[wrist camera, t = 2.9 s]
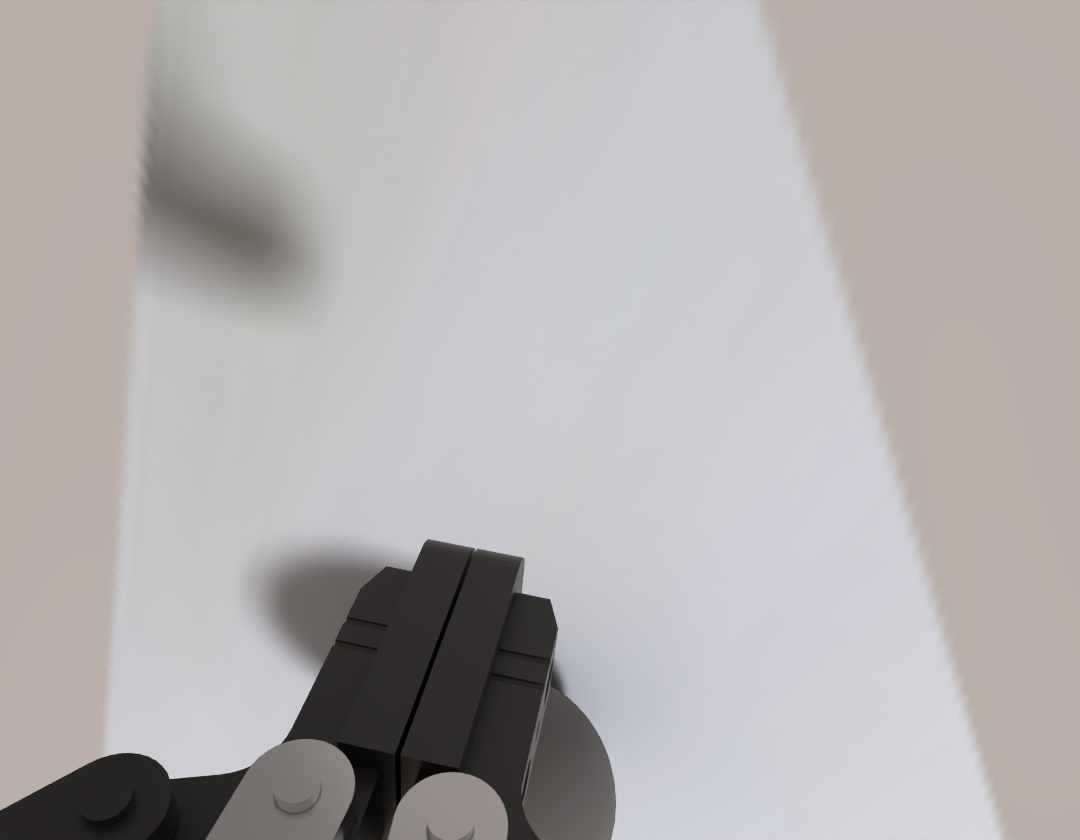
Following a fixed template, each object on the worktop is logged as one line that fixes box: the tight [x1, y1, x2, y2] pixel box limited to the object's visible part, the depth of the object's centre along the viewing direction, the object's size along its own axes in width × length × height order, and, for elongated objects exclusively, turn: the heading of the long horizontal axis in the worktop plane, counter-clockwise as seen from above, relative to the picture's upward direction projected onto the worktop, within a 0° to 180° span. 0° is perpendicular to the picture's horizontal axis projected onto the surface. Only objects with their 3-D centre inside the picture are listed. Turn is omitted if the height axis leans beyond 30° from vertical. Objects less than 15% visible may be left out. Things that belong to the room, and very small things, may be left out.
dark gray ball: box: [523, 686, 616, 840], centre depth 21 cm, size 6×6×6 cm
